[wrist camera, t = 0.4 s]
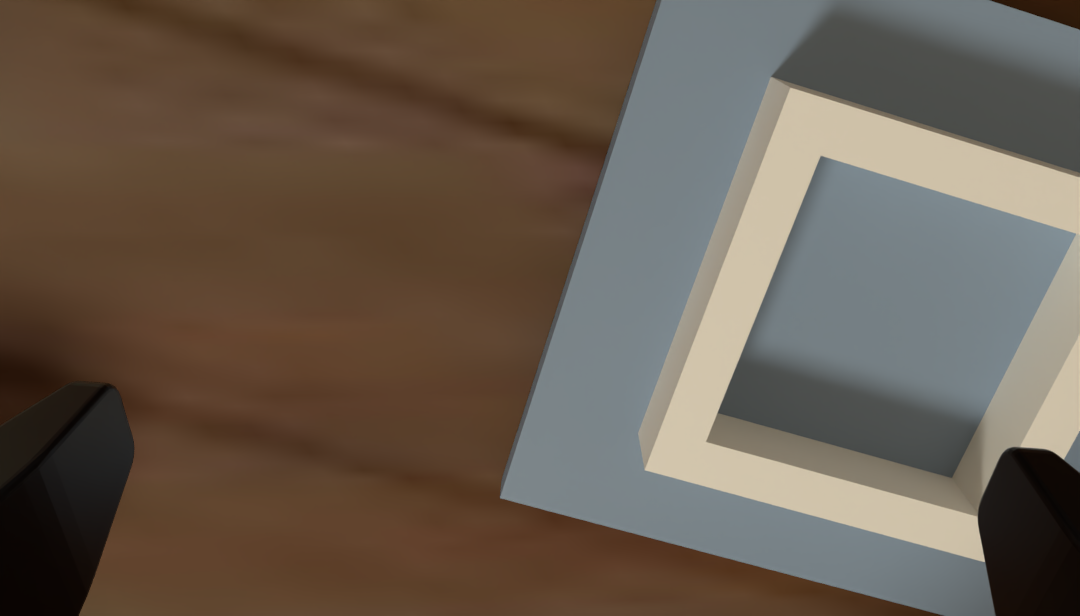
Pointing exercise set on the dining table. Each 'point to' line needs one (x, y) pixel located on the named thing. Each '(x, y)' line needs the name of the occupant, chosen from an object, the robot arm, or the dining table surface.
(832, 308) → the socket
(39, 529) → the robot arm
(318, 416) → the dining table surface
